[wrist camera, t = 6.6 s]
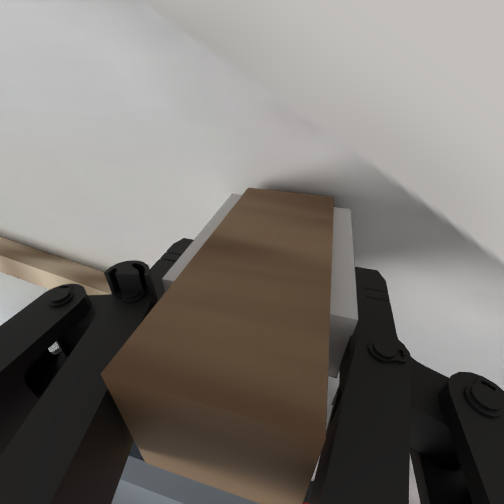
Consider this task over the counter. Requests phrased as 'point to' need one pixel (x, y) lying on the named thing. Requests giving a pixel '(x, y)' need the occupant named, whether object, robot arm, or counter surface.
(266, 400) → the brown wooden bent piece
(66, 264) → the stick
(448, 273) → the counter surface
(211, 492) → the grey storage bin
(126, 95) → the counter surface
